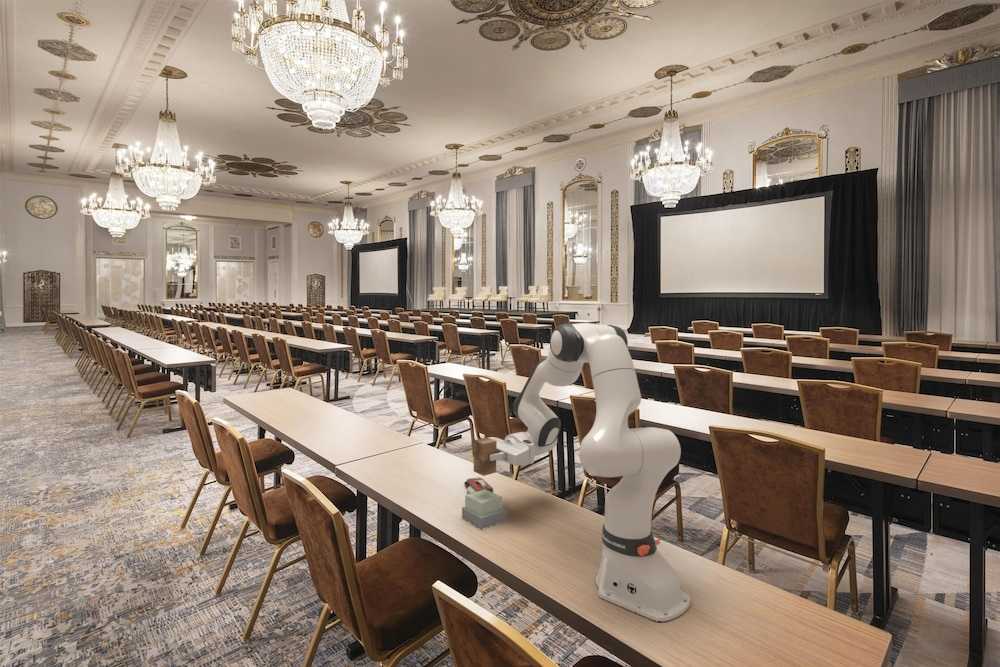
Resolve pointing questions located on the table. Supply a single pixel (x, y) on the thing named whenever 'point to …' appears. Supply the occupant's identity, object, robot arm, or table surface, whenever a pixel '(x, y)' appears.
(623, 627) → the table surface
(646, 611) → the robot arm
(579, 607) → the table surface
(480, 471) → the walnut pillar
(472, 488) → the walkie-talkie
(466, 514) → the tower base block
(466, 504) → the tower top block
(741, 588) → the table surface
